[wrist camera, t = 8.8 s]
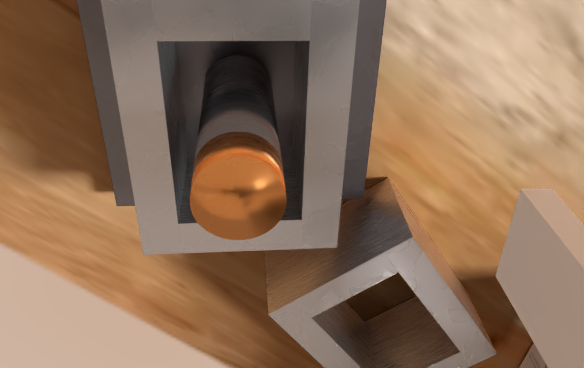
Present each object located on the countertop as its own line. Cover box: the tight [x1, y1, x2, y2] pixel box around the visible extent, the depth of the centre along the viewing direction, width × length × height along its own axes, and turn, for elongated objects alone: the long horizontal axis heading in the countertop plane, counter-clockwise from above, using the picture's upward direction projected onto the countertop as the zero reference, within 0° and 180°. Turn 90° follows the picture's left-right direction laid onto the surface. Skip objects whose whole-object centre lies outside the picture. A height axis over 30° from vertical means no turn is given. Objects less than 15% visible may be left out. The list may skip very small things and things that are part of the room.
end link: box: [101, 0, 360, 255], centre depth 18 cm, size 8×6×4 cm
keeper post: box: [77, 0, 386, 240], centre depth 17 cm, size 10×10×8 cm
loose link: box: [264, 178, 497, 368], centre depth 25 cm, size 8×6×4 cm
